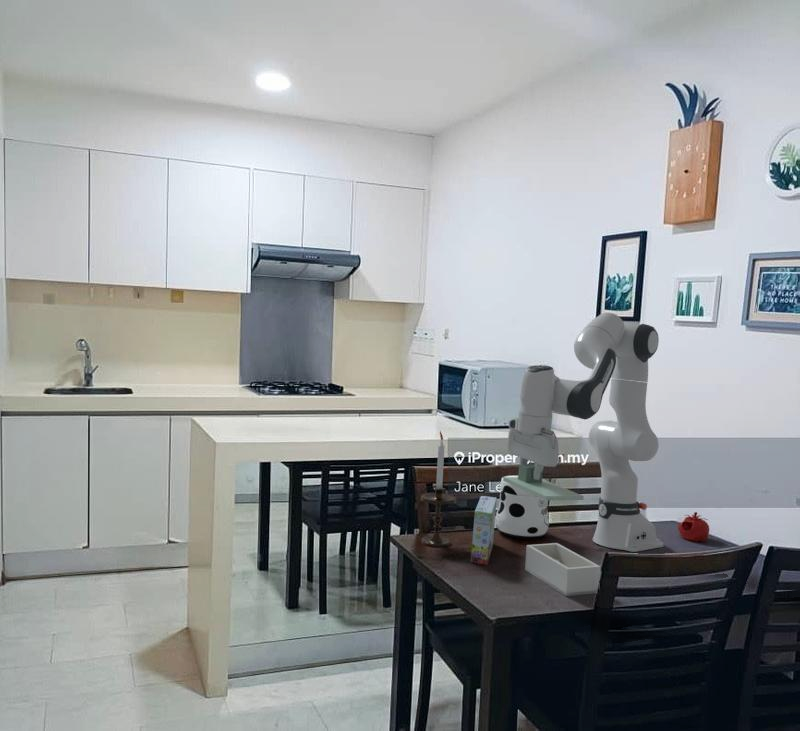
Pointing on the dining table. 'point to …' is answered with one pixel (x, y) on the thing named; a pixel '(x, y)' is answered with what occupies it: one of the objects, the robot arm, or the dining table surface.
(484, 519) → the snack box
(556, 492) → the lid
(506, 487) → the spotted dog treat jar
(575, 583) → the tub
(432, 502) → the candlestick
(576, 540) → the dining table surface
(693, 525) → the pomegranate
